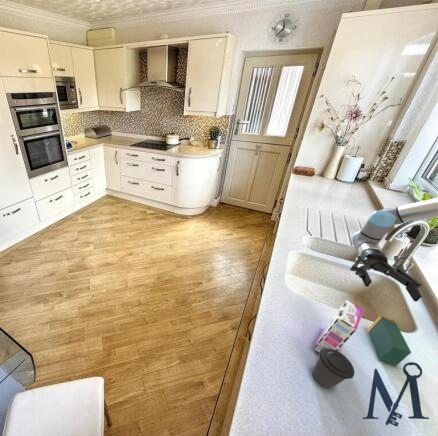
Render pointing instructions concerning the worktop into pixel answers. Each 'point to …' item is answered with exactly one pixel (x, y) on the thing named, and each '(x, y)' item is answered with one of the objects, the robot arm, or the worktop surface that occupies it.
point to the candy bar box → (340, 327)
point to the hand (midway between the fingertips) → (392, 291)
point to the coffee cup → (332, 368)
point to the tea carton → (388, 341)
